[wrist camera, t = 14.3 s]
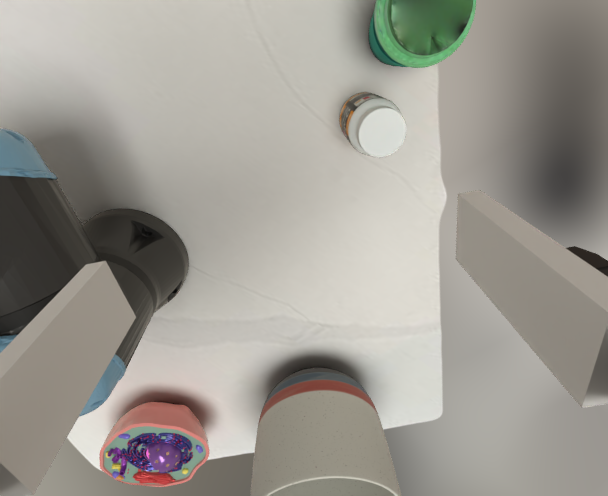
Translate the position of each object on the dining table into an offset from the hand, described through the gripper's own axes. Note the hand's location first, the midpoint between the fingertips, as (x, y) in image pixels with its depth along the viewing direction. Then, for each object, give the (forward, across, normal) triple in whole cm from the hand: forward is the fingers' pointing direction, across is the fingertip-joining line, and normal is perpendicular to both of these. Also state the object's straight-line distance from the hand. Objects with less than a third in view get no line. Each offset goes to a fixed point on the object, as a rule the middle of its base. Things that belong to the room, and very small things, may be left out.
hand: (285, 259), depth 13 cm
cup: (+33, +13, +8) cm, 36 cm away
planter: (+33, -4, -46) cm, 57 cm away
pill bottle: (+33, +9, -1) cm, 34 cm away
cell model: (+33, -33, -48) cm, 67 cm away
